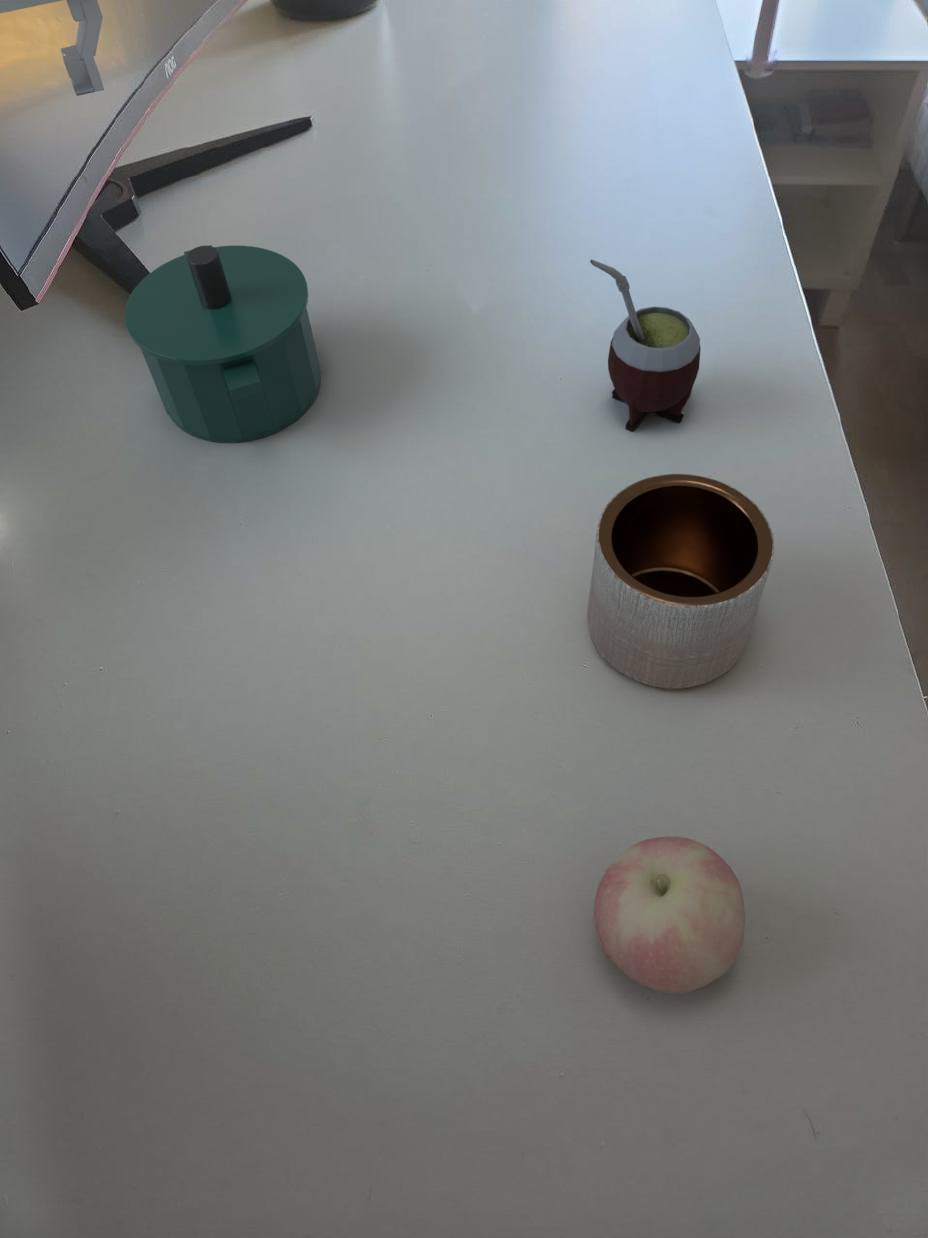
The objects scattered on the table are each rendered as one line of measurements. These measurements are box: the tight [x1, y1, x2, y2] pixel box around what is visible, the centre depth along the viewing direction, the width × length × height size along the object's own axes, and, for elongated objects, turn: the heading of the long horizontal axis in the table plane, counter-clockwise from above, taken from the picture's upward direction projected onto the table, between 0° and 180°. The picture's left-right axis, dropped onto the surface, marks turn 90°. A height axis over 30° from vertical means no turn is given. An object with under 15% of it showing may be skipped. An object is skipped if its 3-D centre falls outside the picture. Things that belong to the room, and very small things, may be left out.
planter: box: [587, 473, 775, 690], centre depth 62 cm, size 11×11×10 cm
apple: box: [593, 836, 746, 994], centre depth 51 cm, size 8×8×8 cm
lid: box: [124, 245, 309, 365], centre depth 74 cm, size 14×14×5 cm
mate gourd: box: [589, 259, 702, 432], centre depth 73 cm, size 8×8×15 cm
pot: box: [140, 244, 322, 444], centre depth 79 cm, size 13×19×8 cm
